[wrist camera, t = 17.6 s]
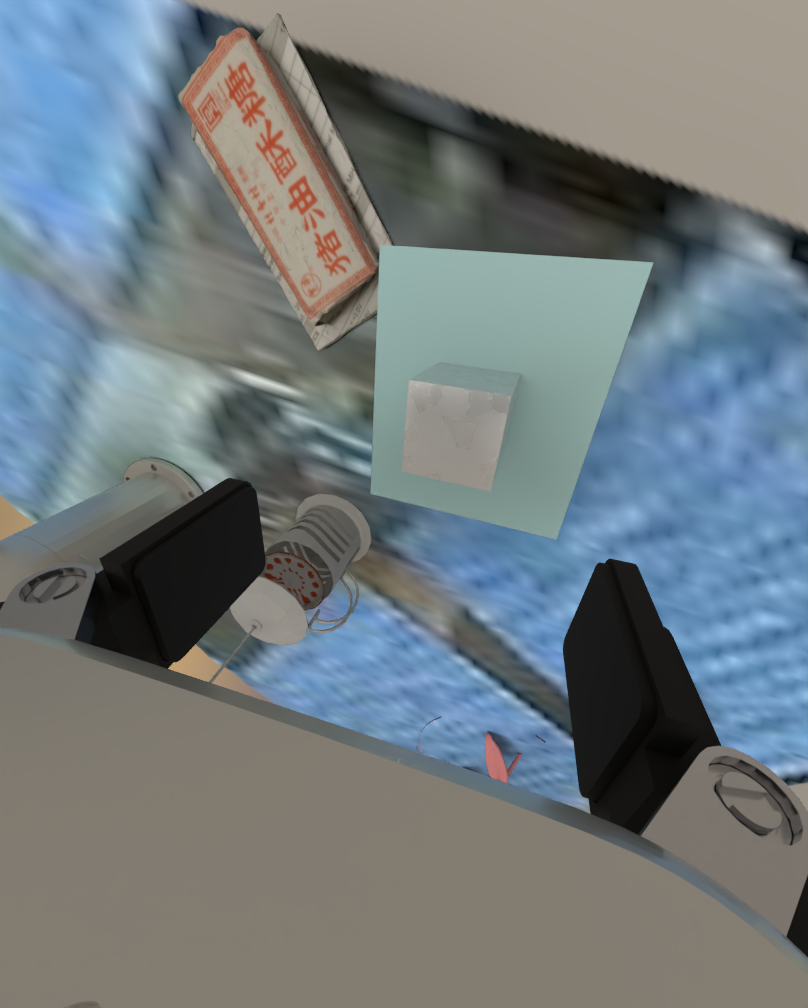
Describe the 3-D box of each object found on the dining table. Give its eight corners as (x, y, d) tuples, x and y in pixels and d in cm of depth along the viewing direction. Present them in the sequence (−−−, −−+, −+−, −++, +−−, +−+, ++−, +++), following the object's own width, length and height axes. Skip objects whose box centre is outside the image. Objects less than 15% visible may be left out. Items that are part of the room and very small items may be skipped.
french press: (312, 477, 42) (100, 662, 21) (399, 534, 42) (276, 770, 21) (285, 534, 47) (94, 727, 26) (362, 584, 48) (235, 812, 27)
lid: (556, 532, 27) (556, 539, 26) (375, 488, 31) (370, 493, 30) (649, 264, 19) (653, 262, 18) (386, 246, 22) (379, 244, 22)
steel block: (503, 452, 25) (490, 491, 20) (430, 438, 26) (401, 471, 21) (521, 373, 22) (511, 395, 17) (439, 362, 23) (409, 379, 18)
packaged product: (148, 110, 26) (241, -32, 21) (200, 135, 30) (287, 21, 25) (300, 357, 31) (399, 286, 27) (325, 350, 35) (415, 287, 31)
